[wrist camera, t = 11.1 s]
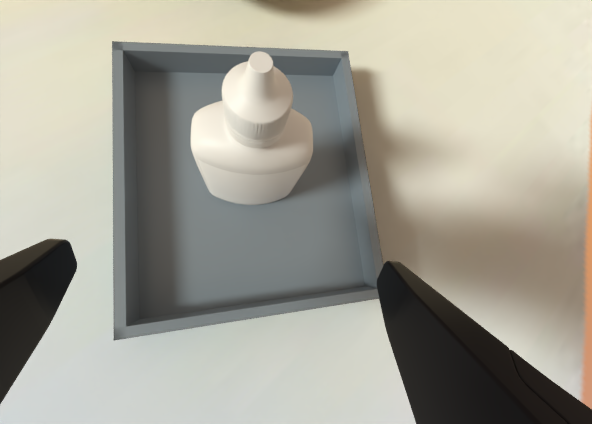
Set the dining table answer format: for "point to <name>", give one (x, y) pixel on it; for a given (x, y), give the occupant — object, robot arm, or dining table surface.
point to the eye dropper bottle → (252, 136)
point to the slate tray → (226, 215)
